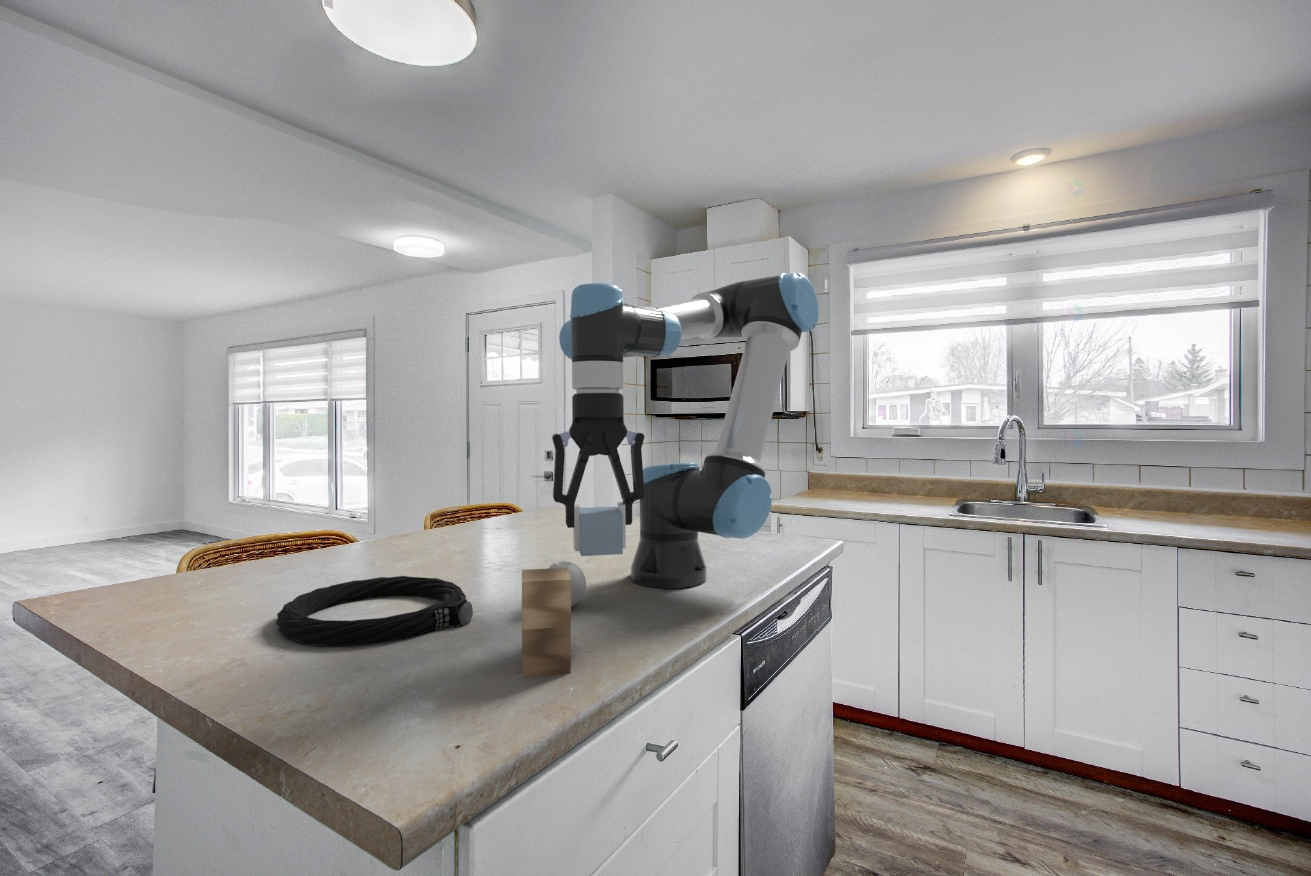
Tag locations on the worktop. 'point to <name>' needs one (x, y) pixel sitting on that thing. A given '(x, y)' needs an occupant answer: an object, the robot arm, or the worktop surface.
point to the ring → (378, 629)
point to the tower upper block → (546, 598)
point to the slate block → (601, 531)
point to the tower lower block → (546, 651)
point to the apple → (573, 580)
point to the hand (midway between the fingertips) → (599, 547)
